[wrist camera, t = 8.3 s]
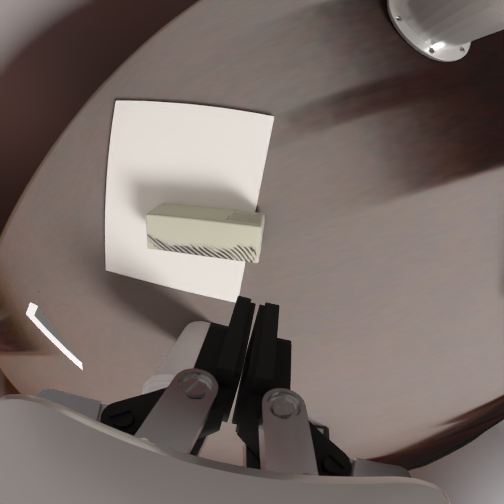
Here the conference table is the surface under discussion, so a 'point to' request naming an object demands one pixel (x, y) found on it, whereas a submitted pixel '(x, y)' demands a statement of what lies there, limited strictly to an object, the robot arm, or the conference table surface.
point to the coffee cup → (179, 356)
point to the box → (206, 231)
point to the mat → (180, 185)
